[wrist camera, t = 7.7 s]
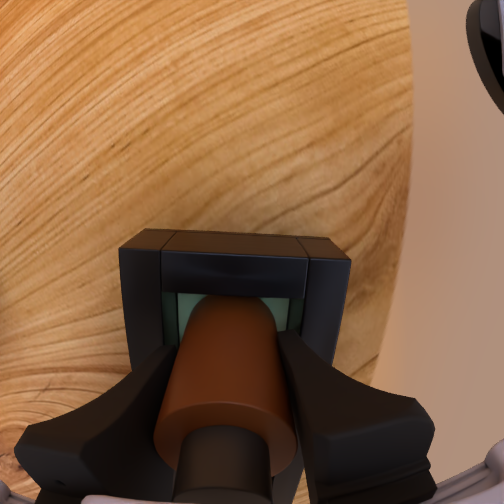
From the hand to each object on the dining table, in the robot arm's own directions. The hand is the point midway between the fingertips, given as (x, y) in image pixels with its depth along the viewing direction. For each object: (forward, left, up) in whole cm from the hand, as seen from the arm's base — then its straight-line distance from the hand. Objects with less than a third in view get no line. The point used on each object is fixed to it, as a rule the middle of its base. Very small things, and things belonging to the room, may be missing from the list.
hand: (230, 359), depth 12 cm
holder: (-1, +7, -4) cm, 8 cm away
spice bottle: (0, 0, -2) cm, 2 cm away
